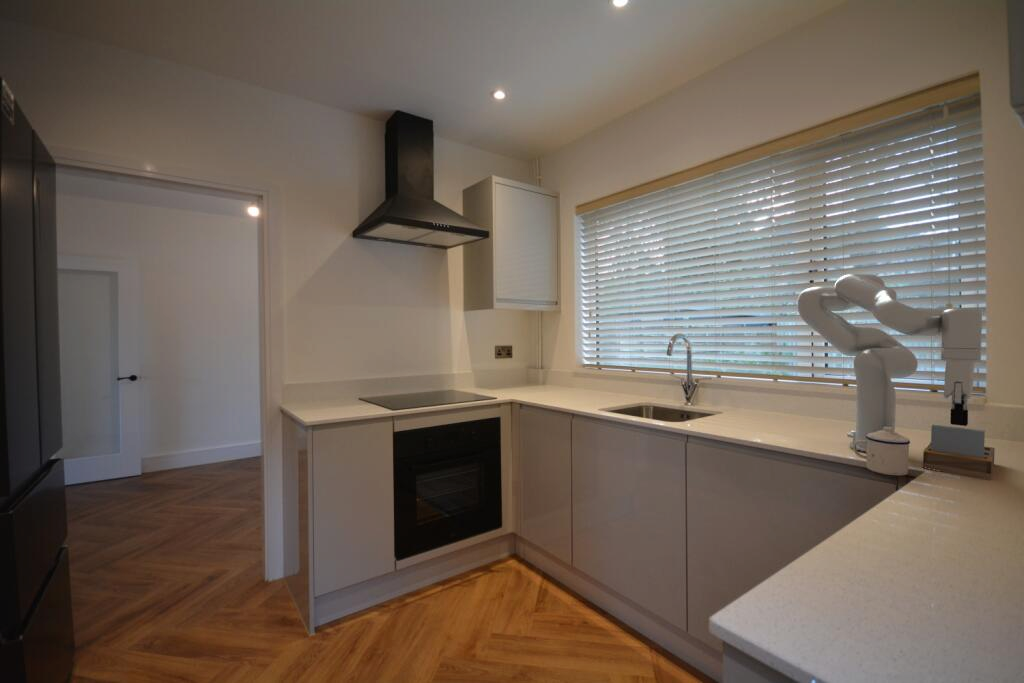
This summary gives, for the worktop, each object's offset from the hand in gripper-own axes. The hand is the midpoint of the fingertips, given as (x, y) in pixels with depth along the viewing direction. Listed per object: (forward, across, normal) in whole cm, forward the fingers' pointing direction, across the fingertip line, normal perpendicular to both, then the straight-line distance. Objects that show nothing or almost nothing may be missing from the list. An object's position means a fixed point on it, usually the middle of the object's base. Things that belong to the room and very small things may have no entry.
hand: (959, 424), depth 122 cm
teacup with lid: (+13, +13, -14) cm, 23 cm away
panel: (+11, 0, 0) cm, 11 cm away
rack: (+12, -7, 0) cm, 14 cm away
